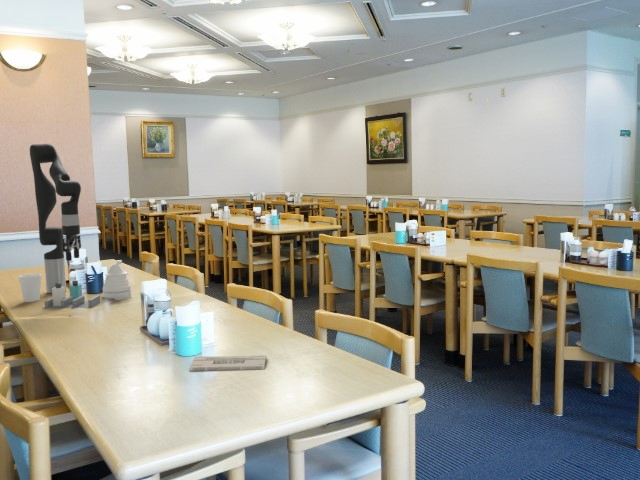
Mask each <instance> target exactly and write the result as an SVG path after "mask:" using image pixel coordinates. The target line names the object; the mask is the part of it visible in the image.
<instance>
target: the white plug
mask: <svg viewBox="0 0 640 480" xmlns="http://www.w3.org/2000/svg"><path fill="white" fill-rule="evenodd" d="M51 295H52V296H51V297H52V298H53V306H61V300H63V299H65V298H67V296H66V291H65V287H61V283H55V287H54V288H52V293H51Z"/></svg>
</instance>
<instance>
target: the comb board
mask: <svg viewBox="0 0 640 480" xmlns="http://www.w3.org/2000/svg"><path fill="white" fill-rule="evenodd" d="M85 299H86V298H85V295H82V296H80V297H78V298H76V299H73V296H70V295H69V296H68V297H67V296H66V298H65V299H63V300H61V306H53V297H51V298H49V299H46V300H44V307H42V309H79V308H80V309H85V308H86V309H87V308H94V307H96V306H98V305H100V304H101V303H102V301H101V296H100V295H95V296H93V297H92V298H89V299H88V300H87V301H86V300H85Z"/></svg>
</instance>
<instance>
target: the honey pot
mask: <svg viewBox="0 0 640 480" xmlns="http://www.w3.org/2000/svg"><path fill="white" fill-rule="evenodd" d="M115 262H116V263H115ZM115 262H114V263H112V264H111V266H110V267H109V268H108V271H107V272H106V273H105V279H104V283H103V286H102V297H103V298H105V299H111V301H120V300H121V301H122V300H126V299H130V298H131V297H132V289H131V287H132V286H131V284H130V282H129V279H128V278H127V275H128V272H127V271H125V270H124V269H123V268H122V266H121V264H122V263H123V260H122V259H119V260H116V261H115Z"/></svg>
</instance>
